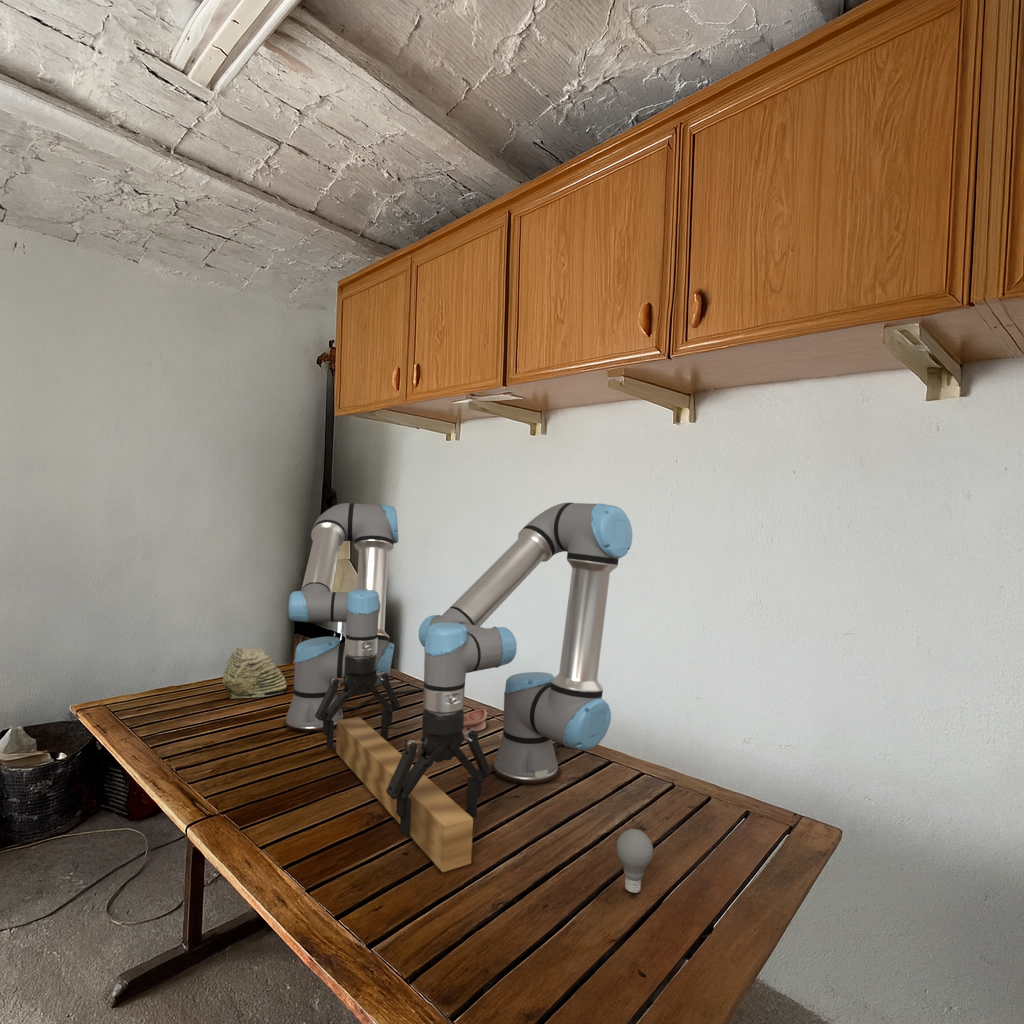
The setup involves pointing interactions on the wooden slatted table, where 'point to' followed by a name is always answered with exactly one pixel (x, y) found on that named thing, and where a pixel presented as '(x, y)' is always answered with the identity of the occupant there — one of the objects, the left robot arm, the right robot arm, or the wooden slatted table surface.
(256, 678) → the fossil
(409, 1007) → the wooden slatted table surface
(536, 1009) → the wooden slatted table surface
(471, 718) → the anatomical model
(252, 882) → the wooden slatted table surface
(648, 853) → the light bulb
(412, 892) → the wooden slatted table surface
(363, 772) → the post
